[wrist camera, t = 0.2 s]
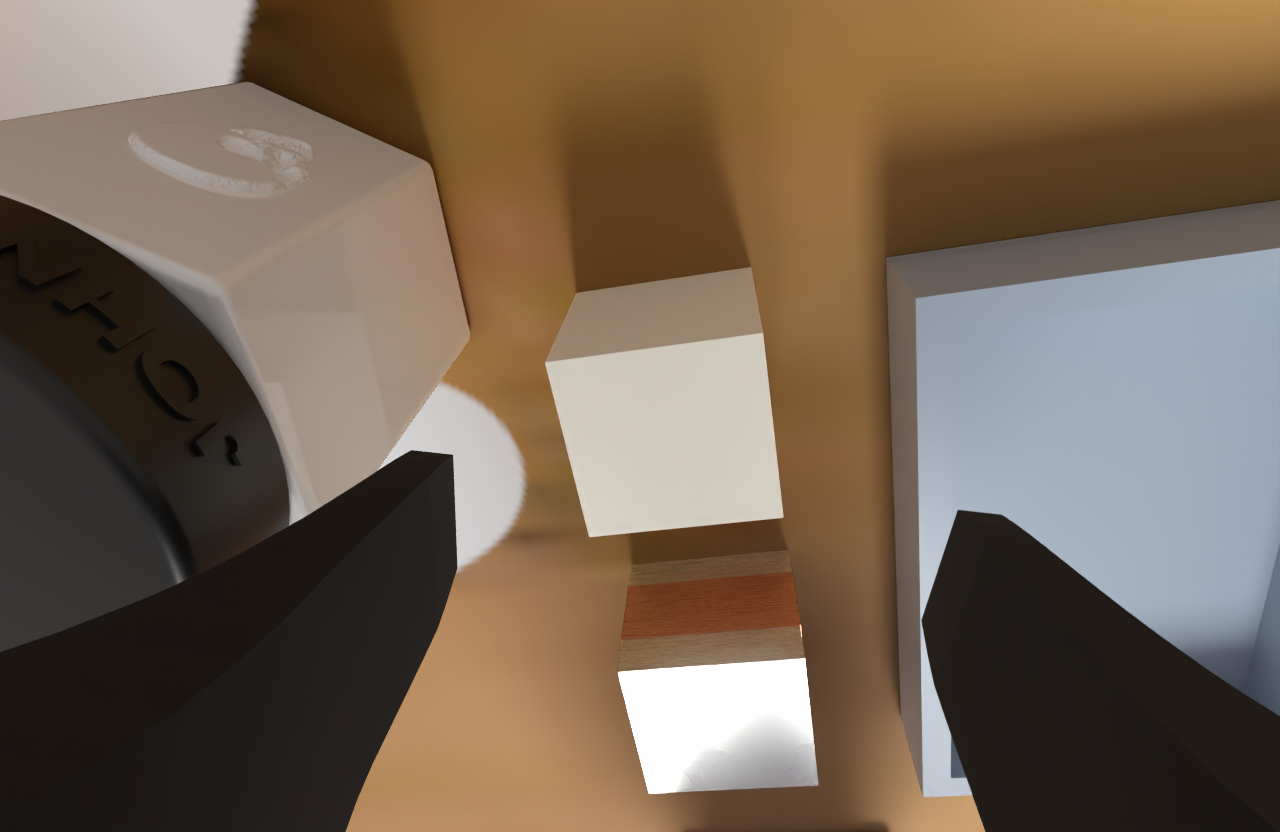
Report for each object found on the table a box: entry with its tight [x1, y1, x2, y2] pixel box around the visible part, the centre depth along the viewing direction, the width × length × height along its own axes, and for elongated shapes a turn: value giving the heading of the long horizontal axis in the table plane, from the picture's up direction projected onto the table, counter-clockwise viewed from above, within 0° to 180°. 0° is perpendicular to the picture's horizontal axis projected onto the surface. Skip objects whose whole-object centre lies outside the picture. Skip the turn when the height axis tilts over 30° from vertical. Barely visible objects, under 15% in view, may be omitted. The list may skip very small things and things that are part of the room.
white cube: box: [545, 267, 784, 537], centre depth 19 cm, size 4×4×4 cm
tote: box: [886, 200, 1280, 797], centre depth 20 cm, size 16×11×3 cm
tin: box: [618, 550, 819, 794], centre depth 23 cm, size 5×5×4 cm
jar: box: [0, 82, 470, 652], centre depth 15 cm, size 9×8×12 cm
